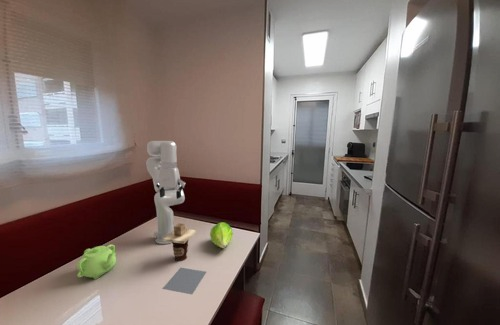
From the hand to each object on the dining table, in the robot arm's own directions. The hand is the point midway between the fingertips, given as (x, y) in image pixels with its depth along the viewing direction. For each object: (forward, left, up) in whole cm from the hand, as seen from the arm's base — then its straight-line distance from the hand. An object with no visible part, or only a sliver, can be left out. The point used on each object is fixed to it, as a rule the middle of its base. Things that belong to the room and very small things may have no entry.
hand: (170, 197), depth 104 cm
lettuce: (+23, +15, -34) cm, 43 cm away
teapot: (-26, -20, -34) cm, 47 cm away
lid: (+6, -2, -20) cm, 21 cm away
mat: (+17, -16, -33) cm, 41 cm away
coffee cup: (+6, -2, -34) cm, 34 cm away
